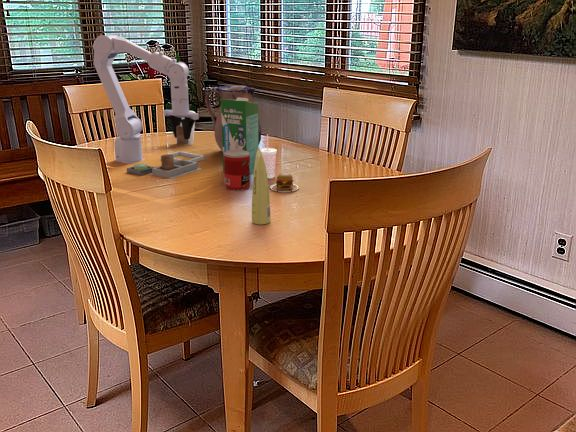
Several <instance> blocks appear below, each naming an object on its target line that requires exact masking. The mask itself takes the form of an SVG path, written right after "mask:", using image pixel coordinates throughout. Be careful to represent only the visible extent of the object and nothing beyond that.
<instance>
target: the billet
mask: <svg viewBox="0 0 576 432" xmlns="http://www.w3.org/2000/svg"><path fill="white" fill-rule="evenodd" d="M176 134H177V141H176V145H181V144H187V145H188V143H189V141H188V139H184V132H183V127H182V125H179V126H176Z"/></svg>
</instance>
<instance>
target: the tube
mask: <svg viewBox="0 0 576 432" xmlns="http://www.w3.org/2000/svg"><path fill="white" fill-rule="evenodd" d="M260 149H261V148H260V146H258V150H257V153H256V159H255V167H254V173H253V176H252V178H253V179H252V188H251V189H252V191H251V223H253V224H255V225H259V226H260V225H261V226H262V225H267V224H269V223H270V222H271V201H270V198H271V197H270V186H269V179H268V177H267V171H266V166H265V162H264V158H263V156H262V152H261V150H260Z"/></svg>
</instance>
